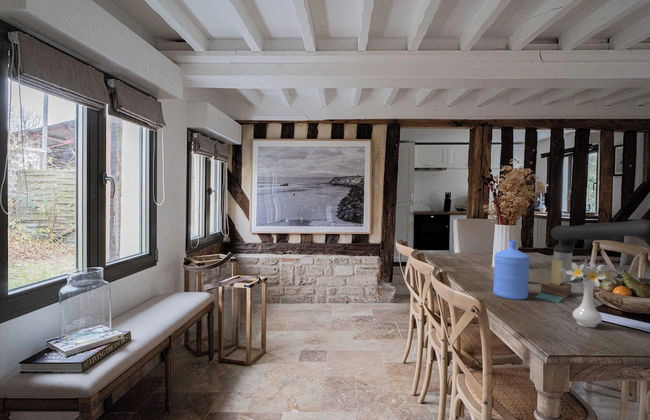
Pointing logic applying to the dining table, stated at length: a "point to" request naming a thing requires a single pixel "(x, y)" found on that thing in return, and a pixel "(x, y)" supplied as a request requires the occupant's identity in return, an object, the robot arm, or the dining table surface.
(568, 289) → the socket block
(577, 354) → the dining table surface
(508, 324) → the dining table surface
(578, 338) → the dining table surface
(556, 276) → the tan wooden peg
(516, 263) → the water jug
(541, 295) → the teal mat
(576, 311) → the flower vase
